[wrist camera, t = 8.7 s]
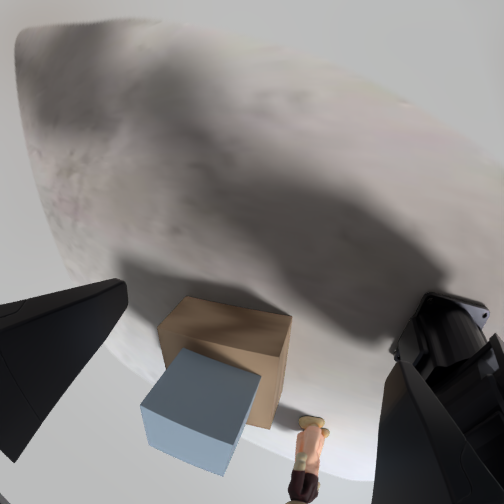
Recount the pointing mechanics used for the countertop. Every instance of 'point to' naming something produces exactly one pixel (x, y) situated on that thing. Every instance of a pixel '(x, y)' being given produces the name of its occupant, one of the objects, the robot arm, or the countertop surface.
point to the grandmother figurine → (307, 461)
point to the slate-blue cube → (199, 410)
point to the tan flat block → (233, 345)
